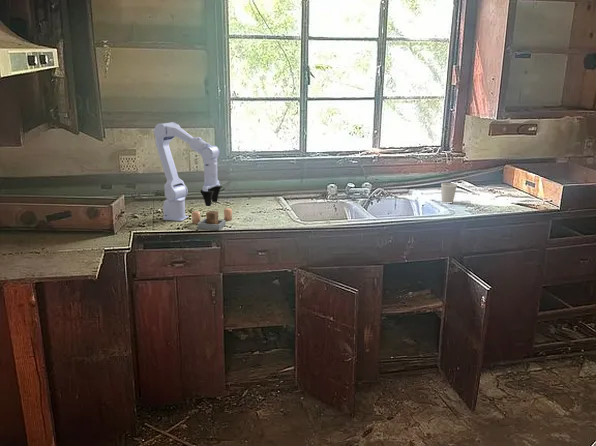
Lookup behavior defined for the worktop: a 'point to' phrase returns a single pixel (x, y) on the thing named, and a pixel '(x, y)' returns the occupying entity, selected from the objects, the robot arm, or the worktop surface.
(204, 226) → the tray
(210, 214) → the walnut block
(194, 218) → the tan cylinder
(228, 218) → the tan cylinder
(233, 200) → the worktop surface
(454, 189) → the dixie cup
